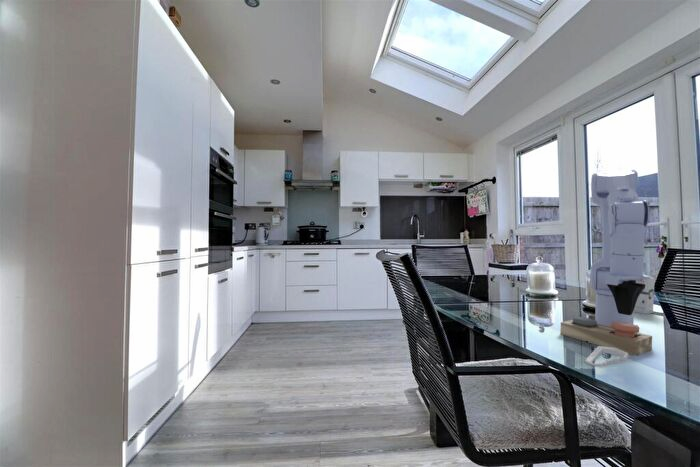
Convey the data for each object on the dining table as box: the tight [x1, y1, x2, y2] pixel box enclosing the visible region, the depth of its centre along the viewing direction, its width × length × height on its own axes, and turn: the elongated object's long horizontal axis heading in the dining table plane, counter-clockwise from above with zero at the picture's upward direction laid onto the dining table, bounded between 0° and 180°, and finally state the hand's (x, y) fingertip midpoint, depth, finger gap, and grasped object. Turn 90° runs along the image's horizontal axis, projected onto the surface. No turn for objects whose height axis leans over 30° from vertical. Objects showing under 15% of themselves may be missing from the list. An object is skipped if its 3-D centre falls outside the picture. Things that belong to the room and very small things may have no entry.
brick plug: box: [611, 322, 640, 338], centre depth 70 cm, size 5×5×4 cm
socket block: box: [559, 319, 653, 357], centre depth 74 cm, size 8×15×3 cm, turn 28°
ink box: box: [634, 276, 656, 315], centre depth 105 cm, size 9×5×12 cm, turn 27°
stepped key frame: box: [585, 345, 629, 368], centre depth 64 cm, size 13×5×2 cm, turn 129°
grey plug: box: [572, 316, 597, 328], centre depth 77 cm, size 5×5×4 cm
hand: (624, 314), depth 70 cm, fingers closed
